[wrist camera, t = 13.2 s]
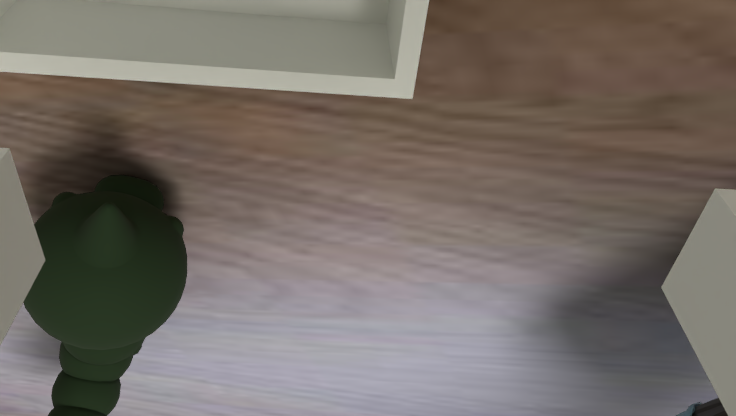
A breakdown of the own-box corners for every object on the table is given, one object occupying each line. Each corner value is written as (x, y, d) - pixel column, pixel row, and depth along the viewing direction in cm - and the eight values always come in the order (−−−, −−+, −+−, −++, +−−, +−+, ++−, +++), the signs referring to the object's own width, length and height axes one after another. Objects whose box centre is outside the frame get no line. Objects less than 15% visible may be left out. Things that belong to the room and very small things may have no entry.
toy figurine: (166, 339, 56) (226, 127, 39) (106, 583, 42) (158, 420, 26) (51, 318, 53) (63, 82, 36) (-51, 570, 40) (-104, 380, 23)
